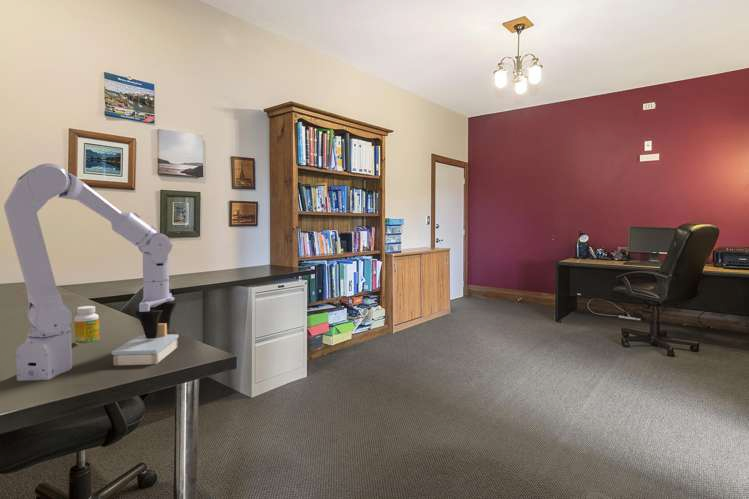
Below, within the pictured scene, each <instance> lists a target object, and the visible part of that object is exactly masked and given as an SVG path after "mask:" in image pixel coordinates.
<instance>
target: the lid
mask: <svg viewBox="0 0 749 499" xmlns="http://www.w3.org/2000/svg"><path fill="white" fill-rule="evenodd" d="M177 338H178V339H179V338H180V337H179V333H177V334H176V333H175V334H174V333H173V334H172V333H171V334H168V330H167V323H158V332H157V337H156V338H150V339H147V338H146V336H145V334H140V335H137V336H136V337H134V338H132V339H131V340H129V341H127V342H125V343H124V344H122V345H120V346H119V347H117V348H114V349H113V350H112V351H111V356H113V355H129V354H157V353H158V352H160V351H161V350H162V349H164V348H165V347H166V346H168V345H169V344H170V343H172V342H173V341H174V340H176V339H177Z"/></svg>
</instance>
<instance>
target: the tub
mask: <svg viewBox="0 0 749 499" xmlns="http://www.w3.org/2000/svg"><path fill="white" fill-rule="evenodd" d="M178 339H179V337H178V338H177V339H176V340H174V341H173V342H172V343H170V344H169V345H168V346H166V347H165V348H164V349H162V350H161V351H160V352H158V353H157V354H129V355H112V357H113V358H112V360H113V361H112V363H113V366H139V365H140V366H141V365H158V364H159V363H160V362H161V361H162V360H163V359H165V358H166V357H167V356H168V355H170V354H171V353H172V352H174V351H175V350H176V349H177V348H178V344H179V343H178V342H179V341H178Z"/></svg>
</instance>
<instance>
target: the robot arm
mask: <svg viewBox="0 0 749 499" xmlns="http://www.w3.org/2000/svg"><path fill="white" fill-rule="evenodd" d="M57 196H58V198H61V199H66V200H72V201H76V202H79V203H81V204H82V205H83V206H86V207H87V208H88V209H89V210H91V211H93V212H94V213H96V214H98V215H99V216H101V217H103V218H104V219H106V220H107V221H109V222H110V224H111V229H112V231H113V232H115V233H116V234H118V235H119V236H121V237H123V239H125V240H127V241H128V242H130V243H131V244H132V245H134V246H136V247H137V248H138V250H139V251H140V253H142V288H143V289H142V291H143V293H142V295H143V296H142V297H143V298H142V300H141V302H139V304H138V307H139V308H138V309H136V310H134V311H135V316H136V317H137V319H138V320H139V322H140V324H141V326H142V329H143V333H144V335H145V336H146V338H147V339H150V338H156V337H157V332H158V323H167V331H168V330H169V327H170V323H171V322H170V321H171V318H172V315H173V312H174V309H175V308H176V305H177V301H174V300H175V297H174V296H173V294H172V293H171V292H170V276H169V274H170V271H169V269H170V268H169V266H170V264H169V254H170V252H171V251H172V249H173V243H172V242H171V240H170V238H169V236H167V235H166V234H165V233H162V232H157V227H156V226H153V225H152V226H151V225H149V224H148V223H147V222H145V221H144V220H142V219H141V218H140V217H141V215H140V214H139V213H137V212H134V213H133V212H132V211H130V210H129V211H128V210H127V211H121V210H120V209H119V208H117V207H116V206H114V205H113V204H112V203H110V201H108V200H107V199H106V198H104V197H103V196H102V195H100V193H98V192H97V191H95V190H94V189H93V188H91V187H90V186H89V185H87V183H85V182H84V181H82V180H81V179H80V178H78V177H77V176H75V175H74V174H72V173H70V172H66V170H65V169H64V168H62V167H61V166H59V165H57V164H54V163H41V164H38V165H36V166H35V167H33V168H31V169H28V170H27V171H26V172H24V173H23V174H21V176H19V177H18V178H17V180H16V183H15V184H14V186H13V187H12V190H11V192H10V193H9V195H8V197H7V198H6V201H5V202H4V206H3V208H4V209H3V210H4V213H5V217H6V220H7V224H8V227H9V231H10V235H11V238H12V241H13V244H14V248H15V252H16V256H17V259H18V261H19V266H20V270H21V273H22V277H23V281H24V285H25V287H26V291H27V293H26V294H27V295H26V296H27V302H28V307H27V310H26V314H25V315H26V319H27V322H28V323H30V325H31V327H30V329H29V330H28V331H27V337H26V340H25V341H24V342H23V343H21V344H20V345H19V346H18V347H17V349H16V353H15V364H16V365H15V367H16V368H15V369H16V381H19V382H22V381H23V382H24V381H44V380H45V381H46V380H47V381H48V380H51V379H53V378H54V377H56V376H58V375H61V374H63V373H65V372H69V371H70V370H72V369H73V353H72V352H73V351H72V350H73V348H72V328H71V326H70V325H71V324H72V322H73V314H72V313H73V312H72V311H71V310H70V308H69V307H67V306H66V305H65V303H64V302H63V298H62V295H61V293H60V291H59V289H58V287H57V284H56V280H55V276H54V273H53V269H52V265H51V262H50V258H49V253H48V250H47V247H46V242H45V239H44V235H43V231H42V228H41V225H40V220H39V215H38V212H39V211H40V210H41V209H42V208H43V207H44V206H45V205H46V204H47V203H48V201H49V200H52V199H53V198H55V197H57Z"/></svg>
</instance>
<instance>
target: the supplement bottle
mask: <svg viewBox="0 0 749 499" xmlns="http://www.w3.org/2000/svg"><path fill="white" fill-rule="evenodd" d="M76 312H77V315H76V316H75V317H74V318H73V319H74V320H73V321H74V343H75V345H77V346H79V345H82V344H83V343H85V344H86V343H91V342H95V341H96V342H97V341H98V340H100V318H99V317H100V316H99V314H97V313H96V306H95V305H84V306H78V307H77V309H76Z"/></svg>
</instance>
